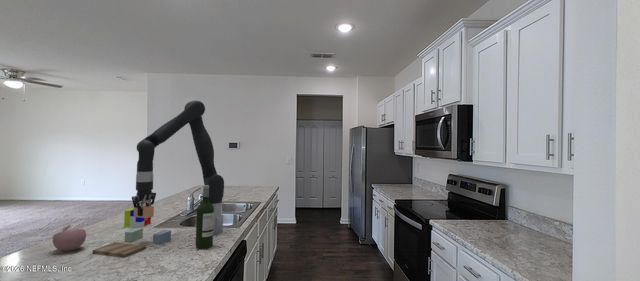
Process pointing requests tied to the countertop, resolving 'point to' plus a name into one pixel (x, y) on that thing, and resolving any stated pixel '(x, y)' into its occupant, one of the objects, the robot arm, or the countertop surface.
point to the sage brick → (133, 234)
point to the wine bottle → (204, 222)
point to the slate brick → (161, 237)
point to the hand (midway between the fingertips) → (143, 214)
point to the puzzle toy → (134, 220)
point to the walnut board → (119, 249)
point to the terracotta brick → (145, 212)
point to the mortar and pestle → (69, 239)
